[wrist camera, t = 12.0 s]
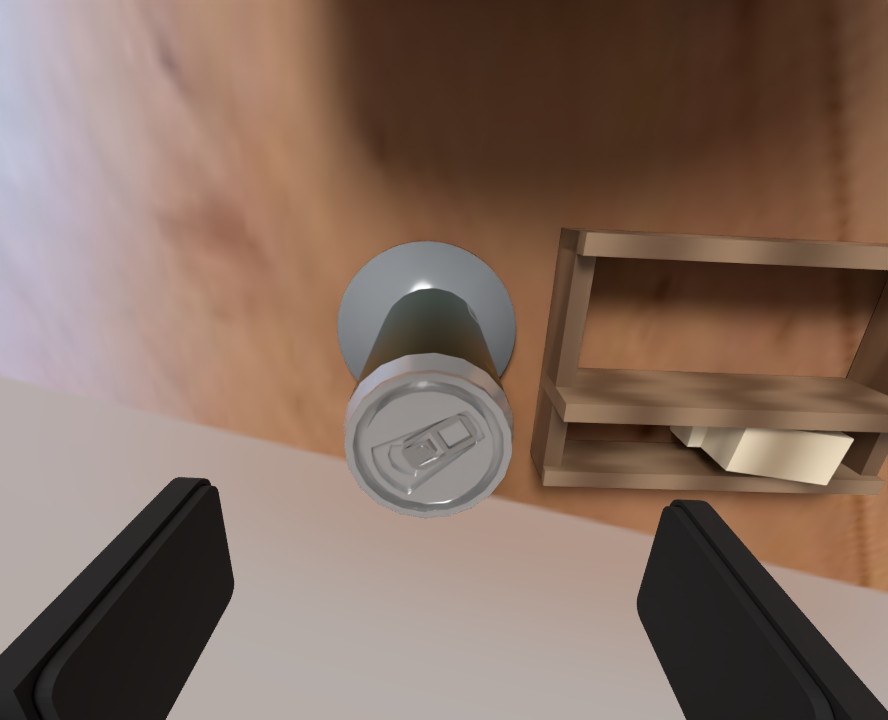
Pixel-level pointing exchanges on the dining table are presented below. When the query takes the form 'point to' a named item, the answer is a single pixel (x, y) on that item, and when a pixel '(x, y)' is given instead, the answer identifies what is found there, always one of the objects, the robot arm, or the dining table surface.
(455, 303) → the beer can
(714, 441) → the top offcut
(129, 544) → the robot arm
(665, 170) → the dining table surface
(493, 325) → the grey glossy dome
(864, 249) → the rack
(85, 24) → the dining table surface
